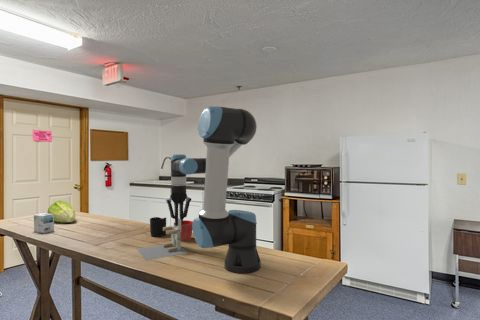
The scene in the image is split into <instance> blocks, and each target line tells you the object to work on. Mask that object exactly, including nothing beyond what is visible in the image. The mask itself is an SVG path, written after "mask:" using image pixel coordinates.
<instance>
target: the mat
mask: <svg viewBox="0 0 480 320" xmlns="http://www.w3.org/2000/svg"><path fill="white" fill-rule="evenodd" d="M172 247H173V246H172ZM167 248H171V247H165V248H164V247H163V244H157V245H151V246H145V247H138V248H136V249H137V252H139V253H140V255H141V256H142V258H143V259H144V261H150V260H154V259H155V260H156V259H161V258H167V257H175V256H178V255H179V256H180V255H186V254H189V252H188V251H187V250H186V249H184V248H183V247H182V246H181V250H179V251H173V252H168V251H167Z"/></svg>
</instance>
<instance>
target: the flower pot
mask: <svg viewBox="0 0 480 320" xmlns="http://www.w3.org/2000/svg"><path fill="white" fill-rule="evenodd" d="M192 224H193V220H187V219H186V220H184V219H183V225H181V232H180V238H181V242H185V241H190V240H191V239H192V234H193V229H192ZM173 226H175V227H177V226H176V225H175V221H174V222H173Z"/></svg>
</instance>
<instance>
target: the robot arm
mask: <svg viewBox="0 0 480 320" xmlns="http://www.w3.org/2000/svg"><path fill="white" fill-rule="evenodd" d="M257 127H258V126H257V121H256V119H255V117H254V115H253V114H252V113H251V112H250V111H249V110H246V109H243V108H232V107H225V106H218V105H217V106H207V107H206V108H204V109H203V111H202V113H201V114H200V116H199V119H198V125H197V130H198V135H199V136H200V138H203V141H202V143H203V144H204V145H205V146H206V157H204V158H203V157H200V158H198V157H195V158H194V157H187V155H186V154H172V155H171V156H170V185H171V186H170V193H171V194H170V196H169V198H167V199H165V202H166V204H167V205H168V206H167V207H168V210H169V213H170V217H171V218H172V219H174V222H175V225H176V226H177V228H178V229H180V232H181V225H183V220H184V219H185V218H187V216H188V211H189V207H190V203H191V201H192V198H190V197H189V196H188V194H187V175H197V174H198V175H200V174H205V175H204V190H203V191H204V192H203V204H202V205H203V207H202V209H200V210H199V212H198V217H196V218H194V219H193V220H192V221H193V224H192V229H193V230H192V234H193V238H194V239H195V240H194V241H195V242H196V244H197V246H198V247H199V248H201V249H208V248H210V249H212V248H217V247H221V246H222V247H223V246H225V245H228V248H227V252H226V254H225V258H224V269H226V270H227V271H229V272H232V273H236V274H248V273H254V272H256V271H259V270H260V269H261V264H262V263H261V258H260V255H259V252H258V249H257V216H256V213H254V212H252V211H249V210H241V209H239V210H238V209H230V210H229V209H228V211H227V209H226V204H227V190H228V180H229V179H228V178H229V165H230V164H229V163H230V162H229V161H230V158H231V156H232V155H234V153H235V152H237V151H238V150H239V149H240V148H241V147H242V146H244V145H247V144H248V143H249V142H251V140H252V139H253V138H254V137H255V135H256V133H257ZM172 202H173V204H172ZM184 202H185V205H184ZM173 205H174V206H173ZM173 207H174V209H173Z"/></svg>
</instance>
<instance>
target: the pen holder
mask: <svg viewBox="0 0 480 320" xmlns="http://www.w3.org/2000/svg"><path fill="white" fill-rule="evenodd" d="M163 227H167V217H163V218H162V217H159V216H158V217H157V216H154V217H150V218H149V228H150V229H149V230H150V236H151V237H152V238H161V237H164V236H166V234H167V231H163Z"/></svg>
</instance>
